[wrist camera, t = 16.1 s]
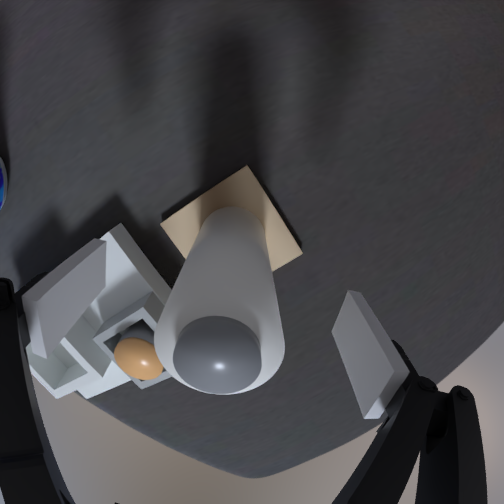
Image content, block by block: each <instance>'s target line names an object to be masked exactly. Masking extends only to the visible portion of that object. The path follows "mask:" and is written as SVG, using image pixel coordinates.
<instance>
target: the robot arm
mask: <svg viewBox="0 0 504 504" xmlns="http://www.w3.org/2000/svg"><path fill="white" fill-rule="evenodd" d="M106 246H107V241H105V240H100V239H96V238H94V239H93V240H91V241H90V242H89V243H87V244H86V245H85V246H83V247H82V248H81V249H79V250H78V251H77V252H75V253H74V254H73V255H71V256H70V257H69V258H68V259H66V260H65V261H64V262H62V263H61V264H60V265H59V266H57V267H56V268H55V269H54V270H52V271H51V272H50V273H49V272H44V273H42V274H39V275H37V276H36V277H35V278H33V279H32V280H31V282H28V283H27V284H26V286H24V287H22V288H21V289H20V290H19V291H17V292H16V293H15V294H14V287H13V283H12V281H11V280H10V279H7V278H0V488H1V491H2V495H3V498H4V501H5V504H75V502H74V500H73V499H72V497H71V495H70V493H69V491H68V489H67V487H66V484H65V482H64V480H63V477H62V475H61V472H60V470H59V467H58V465H57V462H56V460H55V457H54V454H53V452H52V449H51V446H50V443H49V440H48V437H47V434H46V430H45V427H44V424H43V421H42V417H41V413H40V410H39V407H38V403H37V398H36V394H35V390H34V386H33V382H32V376H31V372H30V366H29V361H28V355H27V351H26V347H27V346H28V344H29V343H31V347H32V351H33V353H34V354H36V355H39V356H41V357H43V358H46V359H48V357H49V356H50V355H51V353H52V352H53V351H54V349H55V348H56V347H57V345H58V344H59V343H60V342H61V340H62V339H63V338H64V336H65V335H66V334H67V333H68V331H69V330H70V329H71V328H72V326H73V325H74V324H75V323H76V321H77V320H78V319H79V318H80V316H81V315H82V314H83V313H84V312H85V310H86V309H87V308H88V307H89V306H90V304H91V303H92V302H93V301H94V300H95V298H96V297H97V296H98V295H99V294H100V293H101V291H102V290H103V289H104V288H105V287H106ZM332 334H333V336H334V339H335V342H336V344H337V347H338V349H339V352H340V355H341V357H342V360H343V363H344V365H345V368H346V371H347V373H348V376H349V379H350V382H351V384H352V387H353V390H354V393H355V395H356V398H357V401H358V404H359V407H360V409H361V412H362V415H363V418H364V419H376V418H379V417H380V416H381V415H382V413H383V412H384V410H385V409H386V411H387V413H388V417H387V418H386V419H385V421H384V422H383V423H382V425H381V426H380V427H379V429H378V430H377V432H378V433H377V435H376V437H375V439H374V440H373V442H372V444H371V445H370V447H369V449H368V450H367V452H366V454H365V455H364V457H363V458H362V460H361V462H360V463H359V465H358V466H357V468H356V469H355V471H354V472H353V474H352V476H351V477H350V479H349V480H348V482H347V483H346V484H345V486H344V487H343V489H342V490H341V491H340V493H339V494H338V496H337V497H336V498H335V500H334V501H333V502H332V504H398V502H399V499H400V497H401V495H402V493H403V491H404V489H405V486H406V484H407V482H408V480H409V477H410V475H411V473H412V470H413V468H414V465H415V463H416V460H417V457H418V455H419V452H420V463H419V474H418V484H417V493H416V499H415V504H487V484H486V472H485V471H486V470H485V460H484V453H483V444H482V438H481V431H480V425H479V419H478V414H477V409H476V405H475V399H474V396H473V395H472V393H471V392H470V391H469V390H468V389H467V388H464V387H462V386H458V385H457V386H454V387H453V388H452V389H451V391H450V392H449V393H445V392H440V391H438V388H437V386H436V384H435V383H434V382H433V381H431V380H430V379H428V378H426V377H423V376H419V375H418V373H417V372H416V370H415V368H414V367H413V365H412V363H411V362H410V360H409V358H408V357H407V355H405V352H404V350H403V349H402V347H401V346H400V345H399V344H398V343H397V342H395V341H394V340H390V338H389V336H388V335H387V333H386V332H385V330H384V328H383V327H382V325H381V324H380V322H379V320H378V319H377V317H376V316H375V314H374V313H373V311H372V309H371V308H370V306H369V305H368V303H367V302H366V300H365V299H364V297H363V296H362V294H361V293H360V292H356V291H350V290H348V292H347V294H346V297H345V299H344V302H343V305H342V307H341V310H340V312H339V315H338V317H337V320H336V322H335V325H334V327H333V329H332ZM115 504H118V503H115Z"/></svg>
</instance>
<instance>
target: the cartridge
mask: <svg viewBox="0 0 504 504" xmlns="http://www.w3.org/2000/svg"><path fill="white" fill-rule="evenodd" d="M154 347H155V351H156V354H157V356H158V359H159V360H160V362H161V364H162V365H163V367H164V368H165V369H166V370H167V371H168V372H169V373H170V374H171V375H172V376H173V377H174V378H175V379H177V380H178V381H179V382H181V383H183V384H184V385H186V386H188V387H190V388H193V389H196V390H198V391H202V392H206V393H211V394H237V393H241V392H245V391H249V390H251V389H254V388H256V387H258V386H260V385H262V384H263V383H265V382H266V381H267V380H269V379H270V378H271V377H272V376H273V375H274V374H275V372H276V371H277V370H278V368H279V366H280V365H281V362H282V360H283V357H284V352H285V343H284V337H283V331H282V325H281V320H280V314H279V308H278V303H277V297H276V291H275V286H274V280H273V275H272V269H271V264H270V258H269V253H268V248H267V242H266V237H265V231H264V228H263V226H262V224H261V222H260V220H259V219H258V218H257V217H256V216H255V215H254V214H253V213H251V212H250V211H248V210H246V209H244V208H240V207H233V206H232V207H224V208H221V209H218V210H216V211H214V212H213V213H211V214H210V215H209V216H208V217H207V218H206V220H205V221H204V223H203V225H202V227H201V229H200V231H199V233H198V235H197V237H196V239H195V241H194V243H193V246H192V248H191V250H190V252H189V254H188V256H187V258H186V261H185V263H184V265H183V267H182V269H181V271H180V274H179V276H178V278H177V280H176V282H175V285H174V287H173V289H172V291H171V294H170V296H169V298H168V300H167V303H166V305H165V307H164V309H163V312H162V314H161V316H160V319H159V321H158V323H157V326H156V328H155V333H154Z"/></svg>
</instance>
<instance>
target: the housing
mask: <svg viewBox="0 0 504 504" xmlns="http://www.w3.org/2000/svg"><path fill="white" fill-rule="evenodd" d="M100 240H105V241H107V246H106V287H105V288H104V289H103V290H102V291H101V293H100V294H99V295H98V296H97V297H96V298H95V300H94V301H93V302H92V303H91V304H90V306H89V307H88V308H87V309H86V310H85V312H84V313H83V314H82V315H81V316H80V318H79V319H78V320H77V321H76V323H75V324H74V325H73V326H72V328H71V329H70V330H69V331H68V333H67V334H66V335H65V336H64V338H63V339H62V340H61V342H60V343H59V344H58V345H57V347H56V348H55V349H54V351H53V352H52V353H51V355H50V356H49V357H48V359H46V358H43V357H41V356H39V355H36V354H34V353H33V351H32V347H31V343H29V344H28V346H27V347H26V351H27V355H28V361H29V366H30V372H31V373H32V374H33V375H34V376H35V378H36V379H37V380H38V381H39V382H40V383H41V384H42V385H43V386H44V387H45V388H46V389H47V390H48V391H49V392H50V393H51V394H52V395H53V396H54V397H55V398H56V399H58V398H60V397H62V396H64V395H67V394H69V393H71V392H73V391H75V390H78V391H79V392H80V393H81V394H82V395H83V396H84V397H85V398H86V399H88V398H90V397H93V396H95V395H97V394H100V393H102V392H105V391H107V390H109V389H112V388H114V387H116V386H118V385H121V384H123V383H125V382H128V381H130V380H132V381H133V382H134V383H135V384H137V385H138V386H139V387H140V388H141V389H143V388H146V387H148V386H151V385H153V384H155V383H158V382H160V381H162V380H165V379H167V378H169V377H172V375H171V374H170V373H169V372H168V371H167V370H166V369H165V368H164V367H163V370H162V373H161V374H160V375H159V376H158V377H157V378H155V379H151V380H141V379H137V378H134V377H132V376H130V375H128V374H127V373H125V372H124V371H123V370H122V369H121V368H120V367H119V366H118V364H117V363H116V361H115V358H114V350H115V348H116V346H117V344H118V342H119V340H120V339H121V337H122V335H123V333H124V332H125V330H126V328H127V327H129V326H131V325H132V324H134V323H136V322H137V321H139V320H141V319H143V320H144V321H145V322H146V323H147V324H148V325H149V326H150V328H151V329H152V330H153V331H154V332H155V328H156V326H157V323H158V321H159V319H160V316H161V314H162V312H163V309H164V307H165V305H166V303H167V300H168V298H169V296H170V294H171V291H172V289H171V288H170V287H169V286H168V284H167V283H166V282H165V281H164V279H163V278H162V277H161V275H160V274H159V273H158V272H157V270H156V269H155V268H154V266H153V265H152V264H151V262H150V261H149V260H148V259H147V257H146V256H145V255H144V253H143V252H142V251H141V249H140V248H139V246H138V245H137V244H136V242H135V241H134V240H133V238H132V237H131V236H130V234H129V233H128V231H127V230H126V229H125V227H124V226H123V224H122V223H120V224H118V225H117V226H115V227H114V228H113V229H111V230H110V231H109V232H107V233H106V234H105V235H104V236H103V237H101V238H100Z"/></svg>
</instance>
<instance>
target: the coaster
mask: <svg viewBox="0 0 504 504" xmlns="http://www.w3.org/2000/svg"><path fill="white" fill-rule="evenodd" d="M232 206H233V207H240V208H244V209H246V210H248V211H250V212H251V213H253V214H254V215H255V216H256V217H257V218H258V219H259V220H260V222H261V224H262V226H263V228H264V231H265V237H266V242H267V248H268V253H269V258H270V264H271V269H272V271H274V270H276V269H277V268H279V267H281V266H283V265H284V264H286V263H288V262H289V261H291V260H293V259H295V258H296V257H298V256H300V255H301V254H303V253H302V251H301V249H300V247H299V246H298V244H297V242H296V241H295V239H294V238H293V236H292V234H291V233H290V231H289V229H288V228H287V226H286V225H285V223H284V221H283V220H282V218H281V217H280V215H279V213H278V212H277V210H276V209H275V207H274V206H273V204H272V202H271V201H270V199H269V198H268V196H267V194H266V193H265V191H264V190H263V188H262V187H261V185H260V184H259V182H258V180H257V179H256V177H255V176H254V174H253V173H252V171H251V170H250V168H249V167H248V165H247V166H245V167H243V168H242V169H240V170H239V171H237V172H236V173H234V174H232V175H231V176H229V177H228V178H226V179H225V180H223V181H222V182H220V183H219V184H217V185H216V186H214V187H212V188H211V189H209V190H208V191H206V192H205V193H203V194H202V195H200V196H199V197H198V198H196V199H195V200H193V201H192V202H190V203H189V204H187V205H186V206H184V207H183V208H181V209H180V210H179V211H177V212H176V213H174V214H173V215H171V216H170V217H169V218H167V219H166V220H164V221H163V222H162V223H161V224H160V225H161V226H162V228H163V229H164V230H165V232H166V233H167V235H168V236H169V237H170V239H171V240H172V241H173V243H174V244H175V245H176V247H177V248H178V250H179V251H180V252H181V254H182V255H183V256H184V258H185V259H186V258H187V256H188V254H189V252H190V250H191V248H192V246H193V243H194V241H195V239H196V237H197V235H198V233H199V231H200V229H201V227H202V225H203V223H204V221H205V220H206V218H207V217H208V216H209V215H210V214H211V213H213V212H214V211H216V210H218V209H221V208H224V207H232Z"/></svg>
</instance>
